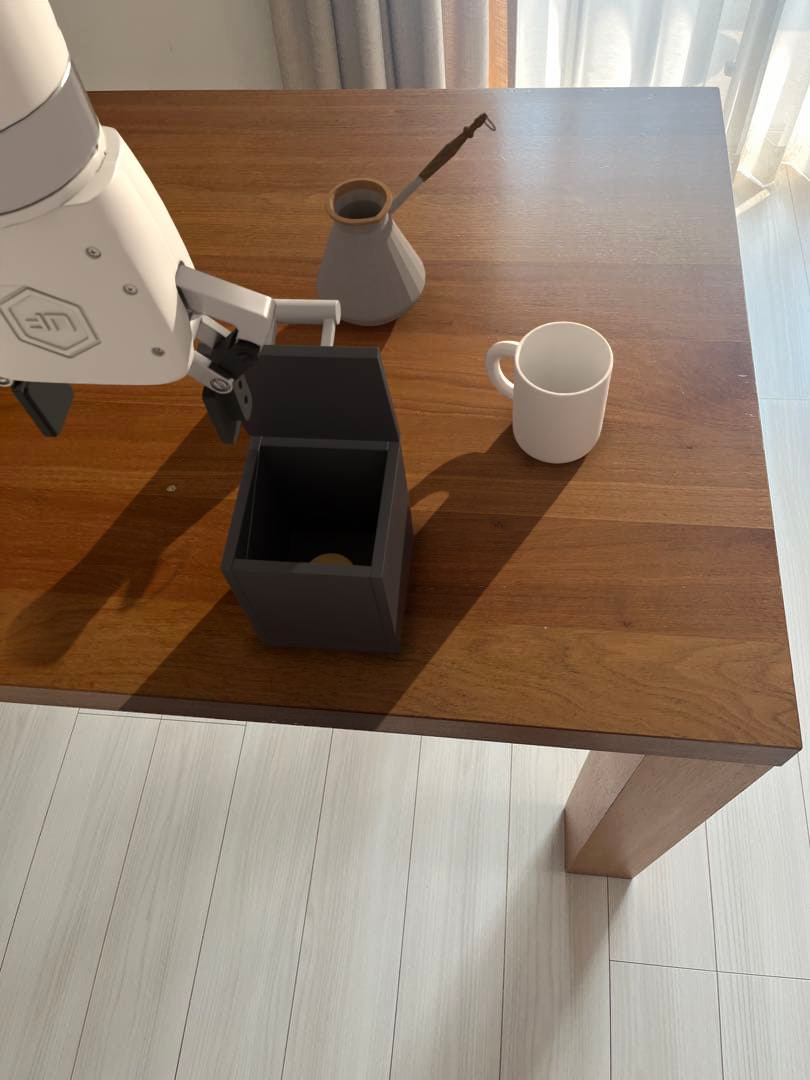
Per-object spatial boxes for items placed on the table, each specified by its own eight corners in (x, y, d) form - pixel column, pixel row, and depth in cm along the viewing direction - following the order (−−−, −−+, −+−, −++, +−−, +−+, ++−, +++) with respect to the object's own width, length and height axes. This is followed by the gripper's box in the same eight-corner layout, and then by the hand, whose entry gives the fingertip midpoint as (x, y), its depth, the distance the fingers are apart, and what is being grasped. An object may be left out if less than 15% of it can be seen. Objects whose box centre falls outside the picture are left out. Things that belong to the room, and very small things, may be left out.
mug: (462, 423, 85) (459, 350, 76) (511, 367, 88) (513, 291, 79) (570, 481, 81) (579, 411, 72) (617, 421, 84) (631, 346, 75)
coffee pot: (357, 357, 90) (335, 241, 77) (300, 293, 96) (271, 175, 83) (523, 263, 95) (528, 139, 82) (460, 207, 100) (456, 82, 87)
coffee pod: (318, 628, 75) (310, 607, 71) (305, 584, 77) (296, 563, 73) (368, 611, 75) (362, 590, 72) (353, 568, 77) (346, 545, 74)
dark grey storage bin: (399, 654, 74) (382, 578, 62) (262, 645, 75) (219, 568, 63) (414, 532, 80) (400, 441, 68) (286, 526, 81) (251, 435, 69)
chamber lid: (377, 358, 55) (385, 283, 57) (195, 353, 57) (208, 280, 58) (399, 442, 67) (405, 378, 69) (248, 436, 68) (258, 374, 70)
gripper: (-274, 198, 31) (-29, 470, 46) (194, 199, 29) (294, 485, 44) (-183, 69, 35) (17, 360, 50) (240, 62, 33) (317, 368, 48)
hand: (147, 418), depth 47 cm, fingers open, 9 cm apart
